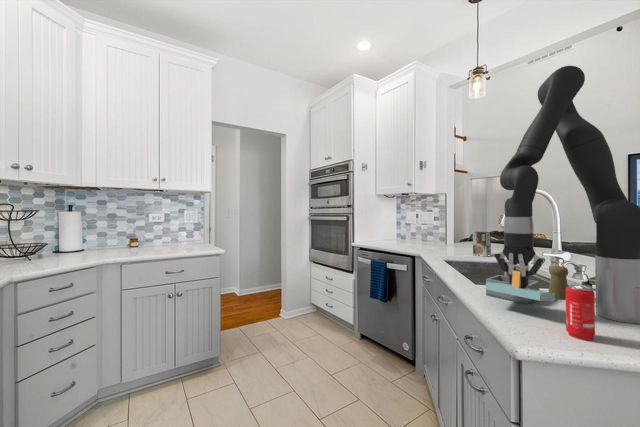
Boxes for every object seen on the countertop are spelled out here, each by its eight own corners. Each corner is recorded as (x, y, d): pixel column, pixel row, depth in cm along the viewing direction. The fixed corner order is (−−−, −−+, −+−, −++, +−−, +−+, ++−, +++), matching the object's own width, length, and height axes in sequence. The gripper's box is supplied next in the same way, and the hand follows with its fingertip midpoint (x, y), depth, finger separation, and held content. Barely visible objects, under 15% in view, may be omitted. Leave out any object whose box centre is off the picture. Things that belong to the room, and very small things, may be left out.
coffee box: (491, 256, 188) (491, 231, 188) (486, 257, 184) (486, 232, 184) (477, 254, 196) (477, 231, 195) (472, 255, 192) (472, 231, 192)
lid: (554, 300, 85) (555, 276, 85) (539, 300, 78) (541, 274, 79) (501, 289, 96) (503, 268, 97) (485, 289, 90) (487, 266, 91)
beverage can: (572, 339, 67) (571, 289, 67) (562, 330, 72) (561, 283, 72) (600, 342, 65) (599, 291, 65) (588, 333, 70) (587, 285, 70)
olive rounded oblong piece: (574, 300, 95) (574, 268, 95) (554, 299, 97) (553, 267, 97) (563, 295, 101) (562, 264, 101) (544, 294, 103) (543, 264, 102)
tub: (539, 298, 98) (539, 281, 98) (528, 304, 92) (527, 286, 92) (498, 290, 108) (498, 274, 108) (486, 295, 103) (485, 278, 103)
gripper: (550, 232, 84) (550, 290, 84) (499, 229, 95) (500, 280, 95) (540, 233, 79) (541, 294, 80) (488, 230, 91) (489, 284, 91)
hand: (518, 286), depth 87 cm, fingers closed on lid
